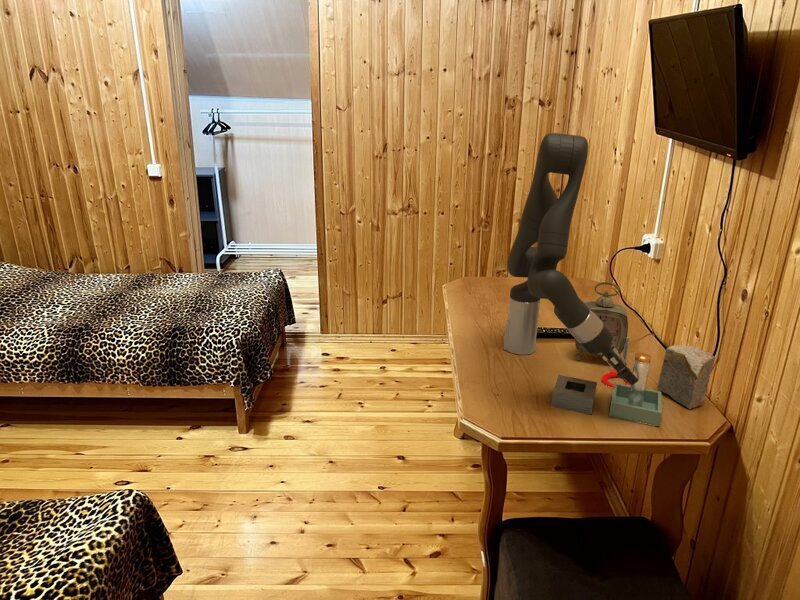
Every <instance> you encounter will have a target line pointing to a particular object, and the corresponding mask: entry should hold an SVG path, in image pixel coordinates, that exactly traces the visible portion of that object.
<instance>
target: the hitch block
mask: <svg viewBox="0 0 800 600" xmlns="http://www.w3.org/2000/svg"><path fill="white" fill-rule="evenodd" d="M597 386H598V382H597V381H593V380H592V381H591V380H589V379H588V380H587V379H582V378H577V377H572V376H568V375H562V374H558V375H557V379H556V382H555V385H554V387H553V390H552V396H551V403H550V407H553V408H558V409H563V410H566V411H571V412H576V413H580V414H585V415H589V416H592V412H593V408H594V403H595V398H596V393H597Z"/></svg>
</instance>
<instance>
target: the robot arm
mask: <svg viewBox="0 0 800 600" xmlns="http://www.w3.org/2000/svg"><path fill="white" fill-rule="evenodd" d="M588 153H589V142H588V140H587V138H586V137H585V136H582V135H574V134H566V133H558V132H550V133H546V134H545V135H544V137H543V138H542V140H541V142H540V145H539V150H538V153H537V157H536V162H535V169H534V173H533V178H532V181H531V186H530V188H529V191H528V195H527V197H526V201H525V204H524V208H523V210H522V214H521V219H520V223H519V227H518V230H517V233H516V236H515V238H514V241H513V243H512V246H511V248H510V251H509V253H508V258H507V271H508V274H509V275H510V276H512V277H515V278H527V280H525V281H523V282H522V283H521V282H520V283H519V284H516V285H513V286H512V287H510V292H509V300H508V301H509V302H508V313H507V319H506V321H505V329H504V339H503V350H504V351H508V352H509V353H511V354H513V355H514V354H515V355H523V356H524V355H525V356H526V355H531V354H533V353H534V352H535V350H536V349H535V348H536V340H537V333H538V332H537V331H538V322H539V315H540V308H541V307H540V305H541V299H543V300H544V299H545V300H548V301H549V302H550V304H551V303H552V305H553V312H554V315H555V316H556V317H557V319H559V321H560V322H561V323H562V324H563V325H564V326H565V328H566V329H567V330H568V331H569V333H570V334H571V336H572V337H574V340H575V339H576V340H577V341H578V342H579V343H580V344H581V345H582V346H583V347H584V348H585V350H586V351H587V352H588V353H587V354H590V355H594V354H597V353H599V354H600V355H599V356H600V357H601V358H602V359H603V361H605V362H607V364H608V365H609V366H610V368H612V370H614V371H617V372H618V373H619V374H620V376H621V377H622V378H621V379H624V378H625V379H626V380H627V381H628V383H629V384H630V385H634V384H635V383H636V382H638V379H637V377H636V376H635V375H634V374H633V371H631V369H630V367H629V366H628V363H627V364H626V363H625V360H624V359H623V358H622V357H623V356H622V355H621V354H619V353H618V350H617V349H616V348H615V346H614V345H613V344H612V343H611V342H612V340H613V333H612V332H611V331H610V330H609V329H608V328H607V327H606V325H605V324H604V323H603V322H602V321H601V320H600V319H599V318H598V317H597V316H596V315H595V314H594V313H593V312H592V311H591V310H590V309H589V308H588V307H587V306H586V305H585V304H584V303H583V302H584V301H583V300H582V299H581V298H579V295H578V294H577V291H576V289H575V288H574V286H573V284H572V282H571V281H570V279H569V278H568V277H567V276H566V275H565V274H564V273H563V272H561V271H559V270H557V267H558V264H559V262H561V261H563V260H564V259H565V258H566V255H567V251H568V245H569V239H570V232H571V231H570V229H571V225H572V219H573V216H574V215H573V214H574V211H575V209H576V208H575V207H576V204H577V201H578V197H579V194H580V189H581V187H582V186H581V184H582V182H583V181H582V180H583V177H584V174H585V170H586V164H587V160H588V155H589V154H588ZM550 173H552V174H558V175H567V176H568V180H567V183H566V186H565V188H564V190H563V191H562V193H561V194H560V195H559V197H558V195H557V194H556V192H555V190H554V189H553V186H552V184H551V182H550V178H549V174H550ZM536 243H537V245H536V246H534V245H535V244H536ZM623 368H624V369H623ZM621 369H623V370H622V371H620V370H621Z"/></svg>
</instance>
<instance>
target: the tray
mask: <svg viewBox="0 0 800 600" xmlns="http://www.w3.org/2000/svg"><path fill="white" fill-rule="evenodd" d="M613 384H614V388H612V395H611V402H610V408H609V413H608V414H609V415H608V417H609V418H613V417H614V418H613V419H618V418H619V419H618V420H623V419H625V420H624V421H627V420H629V422H632V421H634V422H633V423H636V422H641V423H647V424H651V425H655V426H659V427H660V423H661V417H662V414H663V413H662V412H663V411H662V405H663V404H662V391H660V390H659V391H658V390H654V389H649V388H646V389H645V395H644V400H643V406H642V407H637V406H632V405H628V404H627V403H628V397H629V391H630V386H629V385H625V384H622V383H618V382H614V383H613ZM641 423H640V424H641ZM655 426H654V427H655Z"/></svg>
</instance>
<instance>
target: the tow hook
mask: <svg viewBox="0 0 800 600" xmlns="http://www.w3.org/2000/svg"><path fill="white" fill-rule="evenodd" d="M629 339H630V337H629V336H627V337H626V342H625V344H624V349H623V351H622V356H621V357H622V358H623V359H624V360H625V363H626V364H627V365H628V361H627V359H628V352H629V348H630V347H629V346H630V343H629V341H630V340H629ZM623 369H624V368H623ZM623 369H621V370H620V371H622V370H623ZM620 377H621V376H620V374H619V373H618V372H617V371H616V370H615V369H610V370H609V372H608V373H605V374H603V375H602V376H601V382H603V383H604V384H605V385H604V386H606V385H607V386H606V387H608V386H610V387H613V388H614V383H612V382H610V381H609V379H612V378H620ZM607 379H608V380H607ZM621 379H623V380H624V381H625V382H626V384H624V385H629V386H630V384H629V383H628V381H627V380H626V379H625V378H622V377H621ZM603 383H602V384H603ZM610 387H609V388H610ZM613 388H612V389H613Z"/></svg>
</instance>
